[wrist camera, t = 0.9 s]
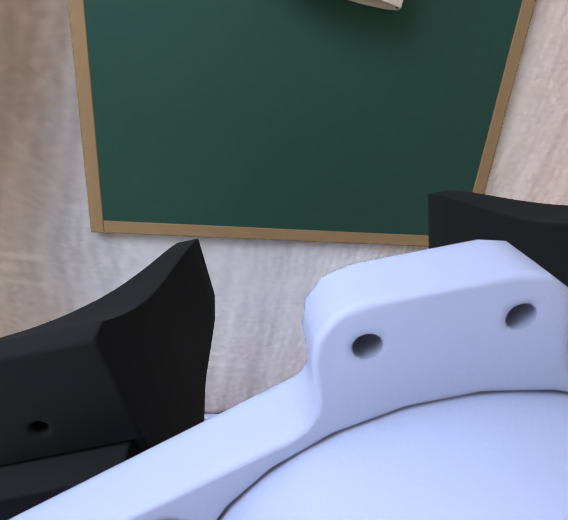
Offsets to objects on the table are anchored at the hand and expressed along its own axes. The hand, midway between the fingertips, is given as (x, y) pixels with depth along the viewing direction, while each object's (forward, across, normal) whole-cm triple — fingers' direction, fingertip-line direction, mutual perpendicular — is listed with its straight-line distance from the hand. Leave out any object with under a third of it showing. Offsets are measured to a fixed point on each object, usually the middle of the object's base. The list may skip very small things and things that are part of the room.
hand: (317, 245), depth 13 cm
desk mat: (+11, -2, -4) cm, 12 cm away
